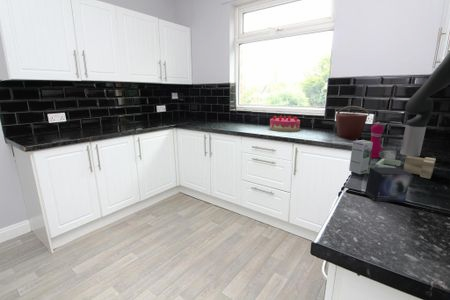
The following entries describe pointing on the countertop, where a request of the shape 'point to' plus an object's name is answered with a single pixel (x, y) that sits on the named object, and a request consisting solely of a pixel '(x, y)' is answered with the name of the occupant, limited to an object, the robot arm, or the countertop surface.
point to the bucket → (350, 123)
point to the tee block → (419, 166)
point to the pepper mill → (376, 139)
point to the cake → (284, 124)
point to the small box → (387, 184)
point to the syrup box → (360, 156)
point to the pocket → (387, 161)
